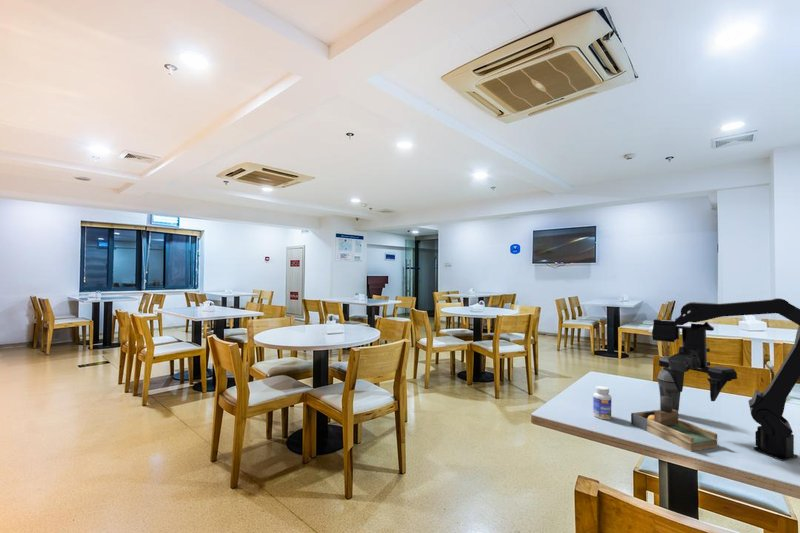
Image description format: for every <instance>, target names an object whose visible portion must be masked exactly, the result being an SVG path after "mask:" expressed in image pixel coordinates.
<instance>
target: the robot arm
mask: <svg viewBox="0 0 800 533" xmlns="http://www.w3.org/2000/svg"><path fill="white" fill-rule="evenodd" d="M769 314H778V315H780V316H781V317H783V318H785V319H787V320H789V321H791V322H792V323H794V324H796V325H798V328H797V330H796V334H795V339H794V344H793V346H792V347H791V349H790V351H789V352H788V354H787V355H786V357H785V359H784V360H783V362H782V364H781V365H780V367H779V369H778V371H777V372H776V373H775V375H774V377H773V379H772V381H770V383H769V386H768V387H767V388H766V389H764V390H763V391H762V392H761V391H760V390H757V389H755V390H754V393H753V396H752V398H750V399H748V407H749V410H750V415H751V418H752V419H753V421H754V422H755V423H757V424H759V425H758V426H757V428H756V429H757V430H756V431H755V437H754V438H755V441H754V443H755V446H753V448H752V449H753V450H755V451H757V452H760V453H762V454H765V455H767V456H770V457H771V458H772V457H773V458H775V459H778V460H779V461H780V460H781V461H787V460H792V459H797V458H799V456H798V454H795V445H794V444H795V442H794V441H795V439H794V438H795V435H794V434H793V429H792V427H791V425H790V423H789V421H788V419H786V418H785V417H784V416H783V415H784V411H785V406H786V401H787V398H788V396H789V395H790V393H791V391H792V390H793V389H794V387H795V385H796V383H797V382H798V380H799V379H800V307H798V306H795V305H793V304H791V303H790V302H789V301H787V300H786V299H784V298H779V297H777V298H772V299H763V300H761V299H760V300H751V301H749V300H748V301H739V302H726V303H713V302H696V301H691V302H688V303H686V304H684V305H683V306H682V307H681V309H680V315H679V316H678V317H676V318H675V319H674V320H667V319H666V320H663V319H659V318H658V319H656V318H654V319H653V324H652V330H651V333H652V334H651V336H652V341H655V342H665V343H676V341H677V340H680V337H681V339H682V340H681V344H682V345H681V346H679V348H678V353H675V354H673V355H670V356H667V357H665V356H662V357H660V358H659V360H658V366H659V367H662V370H663V369H664V370H666V371H667V372H669V373H670V375H671V376H672V378H673V380H674V383H675V385H676V387H677V389H678V392H681V393H682V392H683V390H684V381H685V379H684V378H685V373H687V372H689V371H690V370H691V371H694V372H699V373H704V374H707V376H709V377H707V381H708V382H709V396H710V402H715V401H716V400H717V398H718V396H719V394H720V393H721V391H722V390H723V388H724V387H725V386H726V384H727V383H728V382H731V381H733V380H738V373H737V371H736V370H735V368H731V367H727V366H722V365H719V366H711V361H708V356H707V355H708V353H710V351H711V348H710V347H707V331H711V332H712V331H714V330H715V328H714V326H713V325H711V324H710V323H709V322H708V321H709V320H714V319H718V318H721V317H738V316H739V317H741V316H753V315H769ZM704 321H705V322H704ZM699 322H704V323H699ZM688 323H690V326H687V325H686V324H688ZM680 329H681V331H680ZM710 366H711V367H710Z"/></svg>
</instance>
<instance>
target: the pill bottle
mask: <svg viewBox="0 0 800 533" xmlns="http://www.w3.org/2000/svg"><path fill="white" fill-rule="evenodd" d="M609 393H610V388H609V387H607V386H605V385H604V386H603V385H596V386H595V392H594V393H593V397H592V398H593V399H592V400H593V402H592V403H593V404H592V406H593V407H592V410H593V411H592V413H593V414H592V415H593V416H594V417H596V418H597V419H601V420H610V419H611V418H612V395H611V394H609Z"/></svg>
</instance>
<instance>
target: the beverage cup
mask: <svg viewBox="0 0 800 533" xmlns="http://www.w3.org/2000/svg"><path fill="white" fill-rule="evenodd" d="M664 357H668V356H667V355H665V356H664ZM657 383H658V390H659V397H660V396H668V397H671V398H672V409H674V410H677V411H678V412H679V411H680V402H681V401H680V399H681V393H682V392H678V389H677V387H676V385H675V383H674V380H673V378H672V376H671V375H670V373H669V372H667V371H666V370H664V369H663V368H662V369H661V370H660V371H659V372H658V375H657Z"/></svg>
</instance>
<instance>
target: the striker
mask: <svg viewBox="0 0 800 533" xmlns="http://www.w3.org/2000/svg"><path fill="white" fill-rule="evenodd" d="M659 398H660V399H659V403H660V404H659V406H660V408H659V409H656V411H654V421H655V422H657V423H660V424H662V425H665V426H668V425H675V424H678V419H679V411H677V410H674V409H672V398H671V397H668V396H660V395H659Z"/></svg>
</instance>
